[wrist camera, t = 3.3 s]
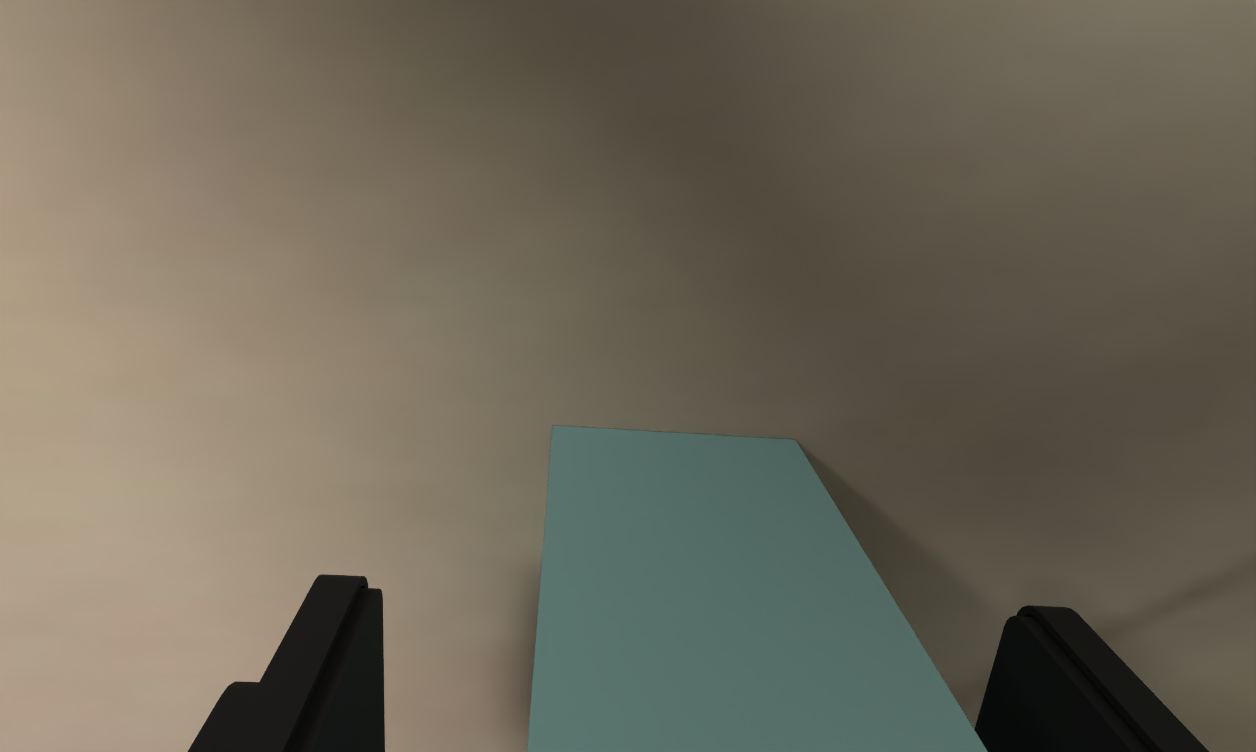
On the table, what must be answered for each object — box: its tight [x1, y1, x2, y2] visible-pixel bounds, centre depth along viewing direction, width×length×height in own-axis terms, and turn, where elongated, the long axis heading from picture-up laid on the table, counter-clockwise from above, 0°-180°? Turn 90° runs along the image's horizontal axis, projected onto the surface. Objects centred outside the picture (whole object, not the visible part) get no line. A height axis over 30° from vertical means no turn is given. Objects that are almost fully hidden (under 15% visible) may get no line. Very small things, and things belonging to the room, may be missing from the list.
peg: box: [527, 425, 988, 752], centre depth 10 cm, size 4×4×9 cm
